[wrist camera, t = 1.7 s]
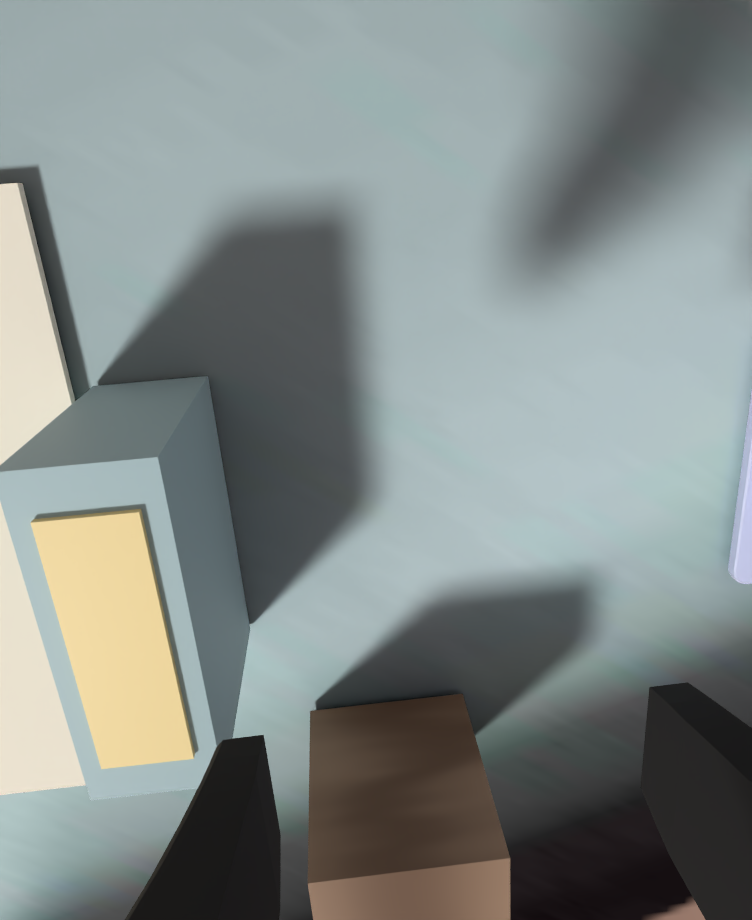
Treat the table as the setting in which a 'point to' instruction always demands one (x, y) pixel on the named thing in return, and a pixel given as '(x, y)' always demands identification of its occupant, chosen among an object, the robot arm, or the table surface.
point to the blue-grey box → (134, 580)
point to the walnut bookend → (403, 816)
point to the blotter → (3, 588)
